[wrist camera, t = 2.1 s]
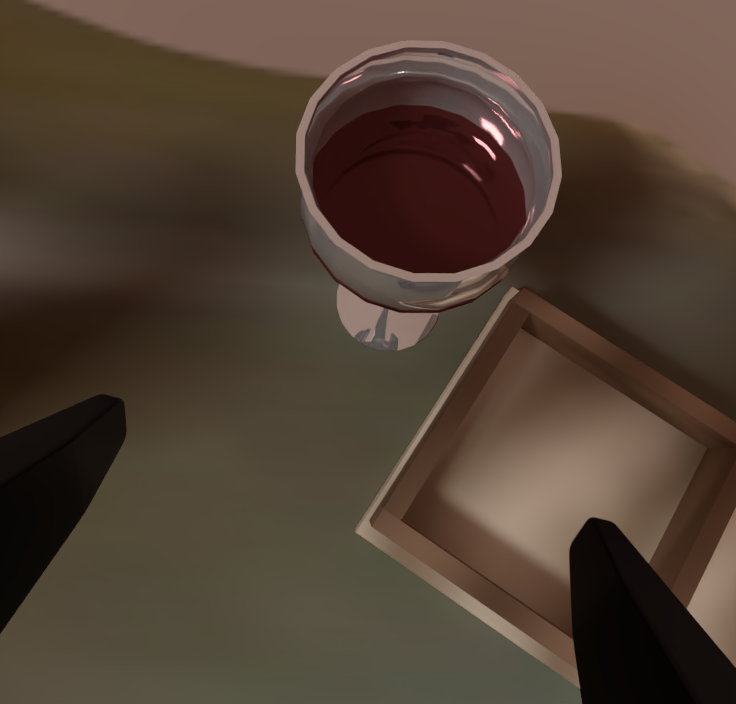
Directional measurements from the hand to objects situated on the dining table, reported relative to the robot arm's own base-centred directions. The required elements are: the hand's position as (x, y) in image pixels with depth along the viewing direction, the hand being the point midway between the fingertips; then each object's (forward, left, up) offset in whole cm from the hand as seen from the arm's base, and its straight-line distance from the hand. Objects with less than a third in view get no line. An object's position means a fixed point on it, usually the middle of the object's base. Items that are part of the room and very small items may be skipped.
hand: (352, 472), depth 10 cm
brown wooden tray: (-12, -4, -13) cm, 19 cm away
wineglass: (+3, -7, -14) cm, 16 cm away
